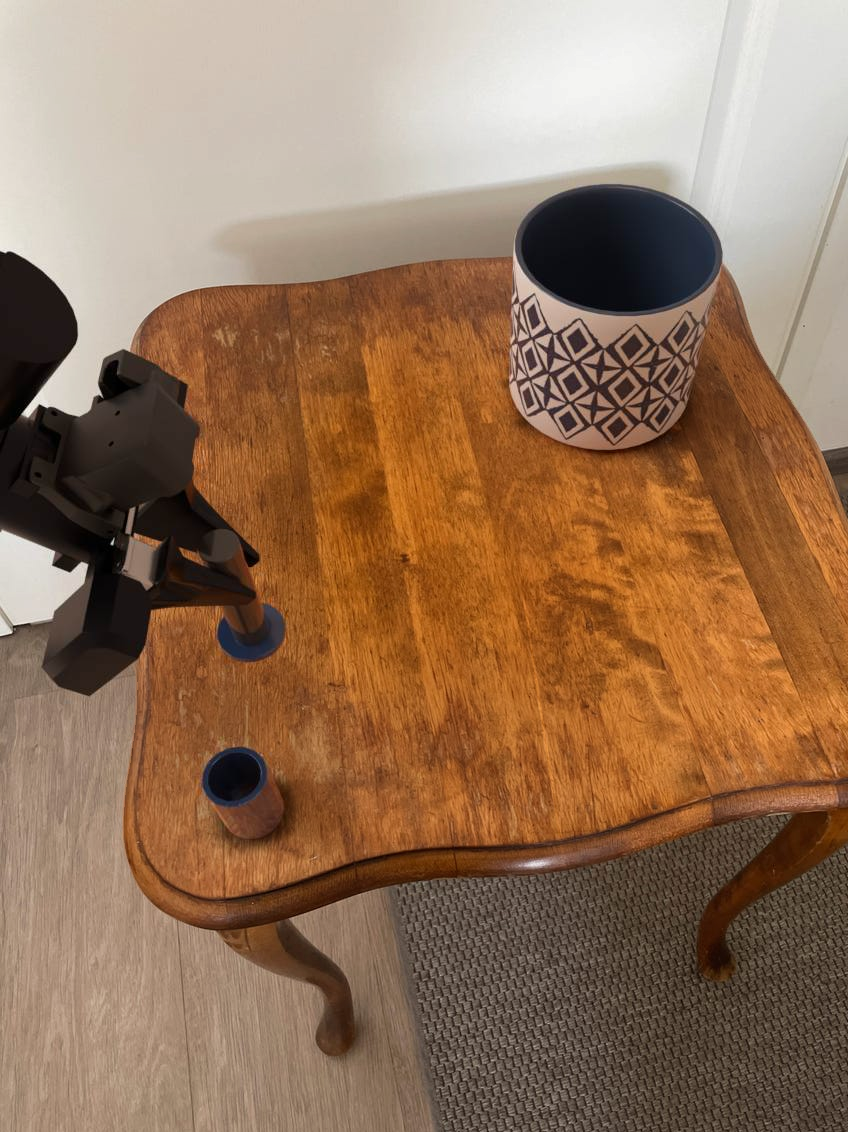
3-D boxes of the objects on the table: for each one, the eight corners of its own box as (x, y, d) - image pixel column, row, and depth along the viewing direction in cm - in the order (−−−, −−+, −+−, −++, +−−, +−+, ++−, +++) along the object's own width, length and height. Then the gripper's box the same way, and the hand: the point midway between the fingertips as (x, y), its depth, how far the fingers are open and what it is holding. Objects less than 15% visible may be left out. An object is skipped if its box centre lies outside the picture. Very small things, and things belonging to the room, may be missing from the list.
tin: (222, 842, 61) (199, 809, 56) (225, 785, 64) (203, 749, 59) (283, 836, 62) (266, 803, 57) (284, 780, 64) (267, 743, 59)
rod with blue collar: (208, 634, 62) (164, 540, 53) (265, 599, 63) (231, 502, 55) (243, 679, 60) (203, 590, 51) (300, 642, 61) (272, 550, 53)
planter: (685, 332, 87) (718, 187, 75) (690, 460, 79) (729, 322, 66) (514, 322, 88) (520, 177, 75) (502, 448, 79) (506, 309, 67)
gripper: (11, 535, 37) (332, 664, 46) (92, 235, 46) (343, 394, 56) (-89, 646, 43) (210, 739, 53) (0, 363, 53) (239, 486, 63)
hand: (254, 580), depth 56 cm, fingers closed on rod with blue collar, 2 cm apart
